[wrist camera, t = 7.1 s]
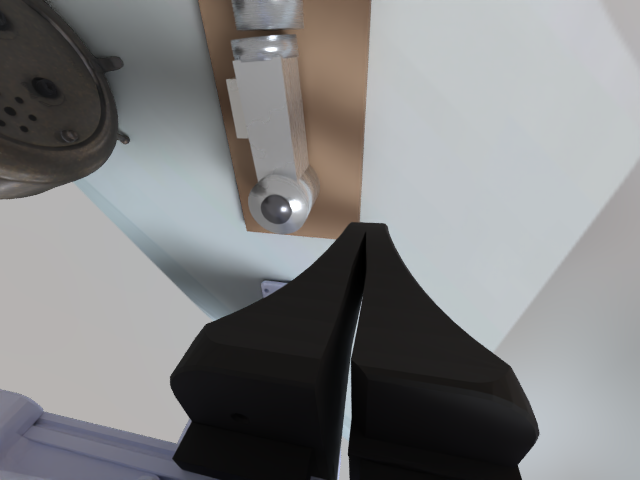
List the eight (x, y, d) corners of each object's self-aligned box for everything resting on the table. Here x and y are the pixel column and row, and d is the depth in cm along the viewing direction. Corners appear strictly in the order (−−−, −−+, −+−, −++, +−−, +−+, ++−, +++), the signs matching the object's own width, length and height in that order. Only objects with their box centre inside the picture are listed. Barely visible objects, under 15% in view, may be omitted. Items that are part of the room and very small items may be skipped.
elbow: (322, 207, 20) (308, 238, 17) (274, 206, 21) (253, 235, 18) (307, 34, 15) (283, 32, 12) (243, 41, 16) (204, 41, 12)
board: (358, 234, 22) (357, 241, 21) (251, 224, 24) (246, 231, 23) (375, -85, 13) (374, -94, 12) (195, -62, 14) (182, -69, 14)
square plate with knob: (338, 130, 17) (321, 157, 13) (246, 128, 18) (205, 153, 14) (338, -89, 12) (312, -153, 8) (212, -73, 13) (133, -122, 9)
